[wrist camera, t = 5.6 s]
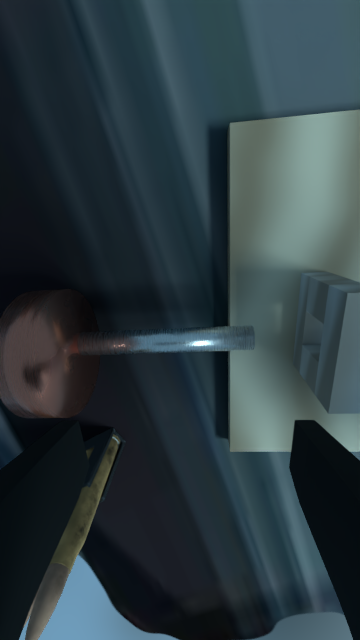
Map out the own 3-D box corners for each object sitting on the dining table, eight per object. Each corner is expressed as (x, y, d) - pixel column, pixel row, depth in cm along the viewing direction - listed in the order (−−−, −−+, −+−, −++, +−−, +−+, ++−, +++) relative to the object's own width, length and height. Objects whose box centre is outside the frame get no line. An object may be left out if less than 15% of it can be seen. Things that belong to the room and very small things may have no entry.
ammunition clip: (40, 483, 25) (-88, 694, 14) (27, 470, 24) (-117, 679, 13) (126, 441, 22) (55, 658, 11) (113, 426, 22) (25, 638, 11)
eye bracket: (461, 107, 13) (672, 12, 7) (377, 439, 21) (449, 522, 15) (227, 131, 14) (248, 63, 8) (228, 439, 22) (240, 518, 16)
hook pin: (245, 268, 16) (281, 298, 9) (243, 368, 18) (270, 449, 11) (58, 279, 17) (-32, 313, 10) (80, 372, 19) (18, 449, 12)
